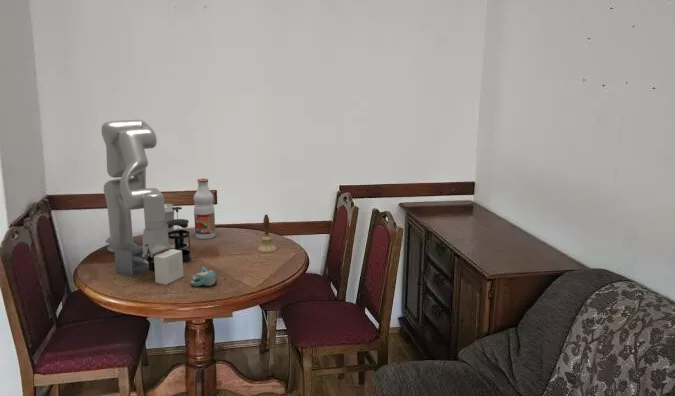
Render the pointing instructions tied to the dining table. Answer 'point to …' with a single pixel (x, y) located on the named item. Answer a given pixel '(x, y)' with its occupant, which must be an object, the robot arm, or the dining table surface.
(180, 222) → the french press
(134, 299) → the dining table surface
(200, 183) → the fruit juice
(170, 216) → the coffee cup
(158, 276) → the socket
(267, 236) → the hand bell
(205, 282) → the stuffed animal
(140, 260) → the rod
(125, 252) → the grey metal block
